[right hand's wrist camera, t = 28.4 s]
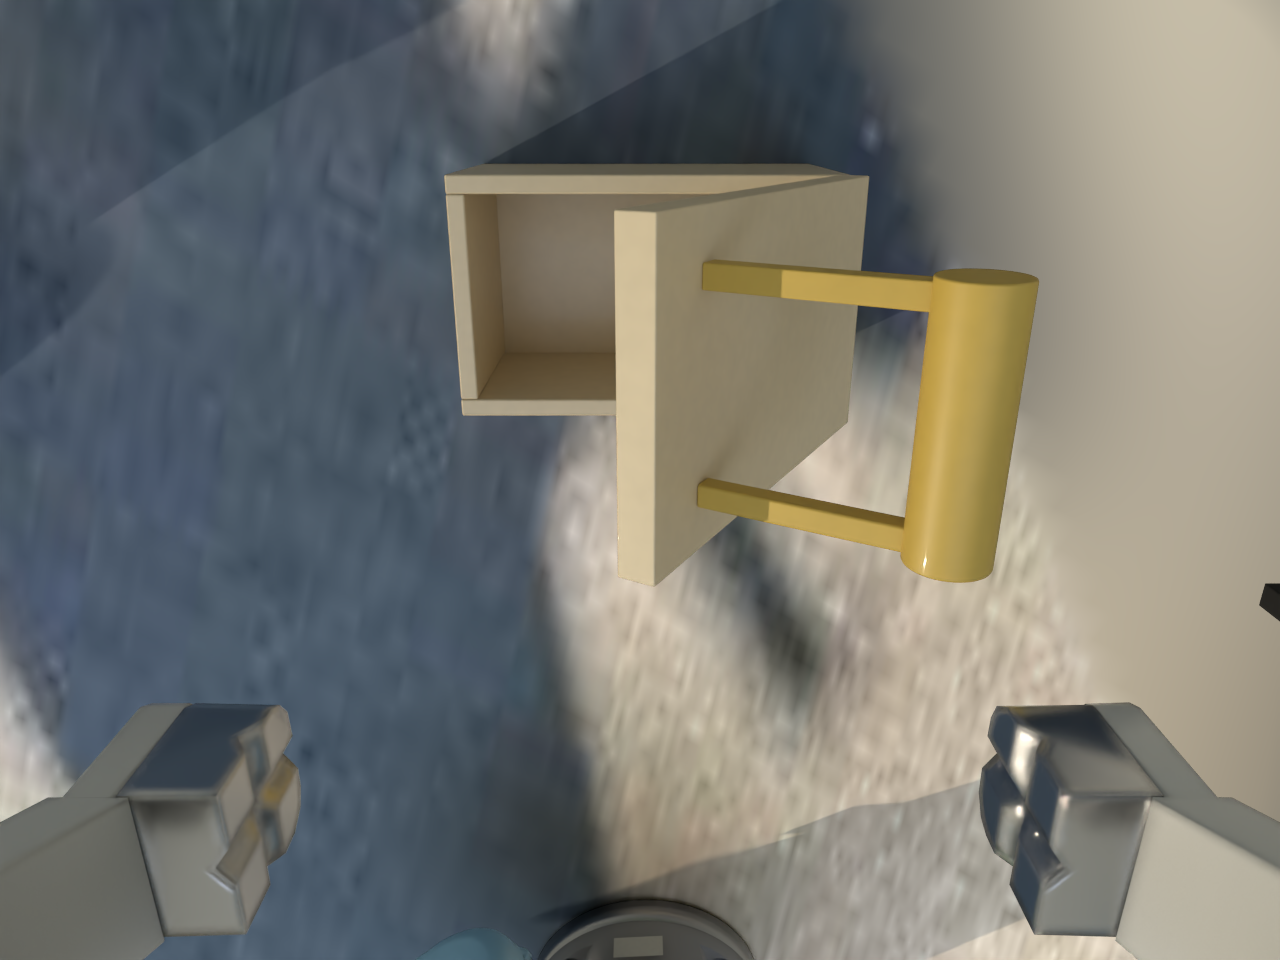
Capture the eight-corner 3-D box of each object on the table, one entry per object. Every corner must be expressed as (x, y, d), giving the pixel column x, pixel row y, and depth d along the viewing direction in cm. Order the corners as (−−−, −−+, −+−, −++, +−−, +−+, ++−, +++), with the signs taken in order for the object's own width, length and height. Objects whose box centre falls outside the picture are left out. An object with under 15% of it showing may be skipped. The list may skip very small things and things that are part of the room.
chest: (494, 362, 46) (462, 416, 38) (481, 163, 42) (443, 174, 34) (796, 362, 46) (831, 415, 38) (809, 163, 42) (850, 174, 34)
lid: (617, 577, 24) (961, 671, 20) (613, 209, 21) (1028, 231, 17) (820, 418, 37) (1055, 455, 33) (839, 174, 34) (1104, 182, 30)
